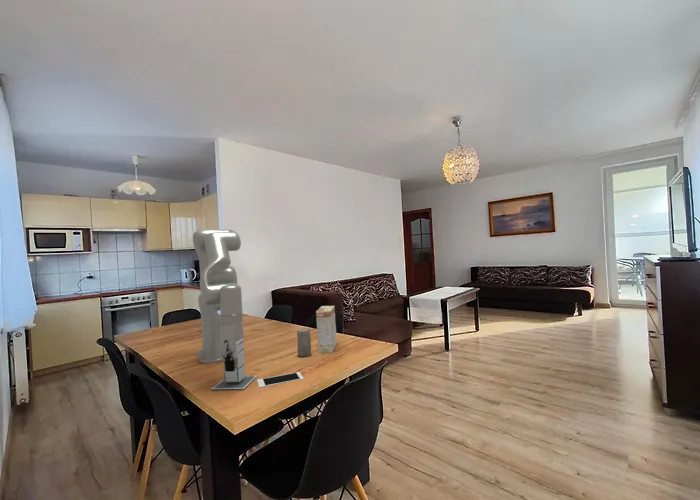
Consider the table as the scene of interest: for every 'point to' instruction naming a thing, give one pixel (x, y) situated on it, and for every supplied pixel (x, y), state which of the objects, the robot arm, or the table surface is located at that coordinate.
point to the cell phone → (279, 379)
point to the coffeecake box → (326, 329)
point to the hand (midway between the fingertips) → (234, 367)
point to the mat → (235, 384)
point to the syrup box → (236, 364)
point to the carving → (304, 342)
